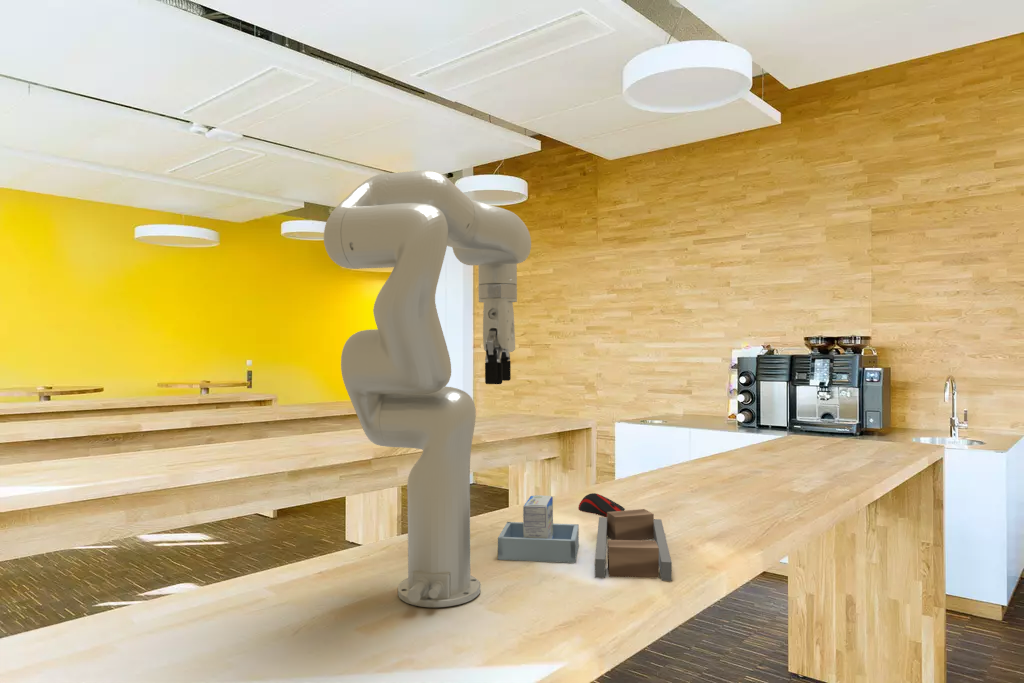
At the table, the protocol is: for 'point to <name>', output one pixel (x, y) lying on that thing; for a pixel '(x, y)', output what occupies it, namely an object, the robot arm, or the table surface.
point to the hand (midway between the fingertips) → (498, 382)
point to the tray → (539, 544)
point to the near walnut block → (633, 558)
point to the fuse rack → (659, 537)
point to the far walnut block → (630, 525)
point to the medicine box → (538, 517)
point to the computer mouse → (598, 505)
